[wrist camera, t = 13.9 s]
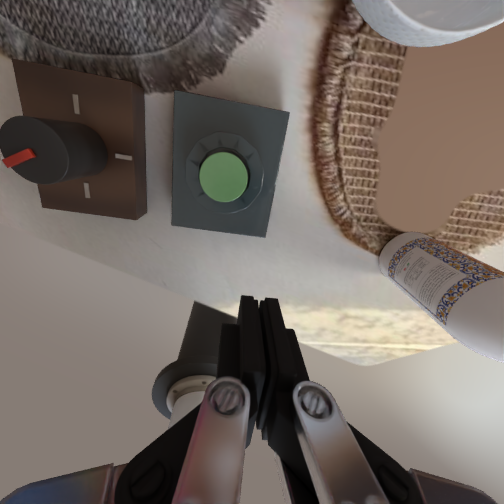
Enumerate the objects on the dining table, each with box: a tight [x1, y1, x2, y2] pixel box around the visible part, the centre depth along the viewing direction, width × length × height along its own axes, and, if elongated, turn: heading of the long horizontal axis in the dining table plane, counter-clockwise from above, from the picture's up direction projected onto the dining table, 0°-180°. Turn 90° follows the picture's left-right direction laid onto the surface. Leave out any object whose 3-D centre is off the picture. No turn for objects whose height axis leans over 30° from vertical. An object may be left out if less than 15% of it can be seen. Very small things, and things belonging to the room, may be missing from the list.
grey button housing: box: [171, 90, 290, 238], centre depth 23 cm, size 12×10×5 cm
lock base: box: [12, 58, 147, 220], centre depth 23 cm, size 12×9×3 cm
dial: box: [0, 116, 108, 185], centre depth 19 cm, size 4×4×6 cm
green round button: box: [199, 151, 248, 202], centre depth 20 cm, size 4×4×2 cm
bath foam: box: [379, 232, 504, 363], centre depth 22 cm, size 7×7×20 cm
